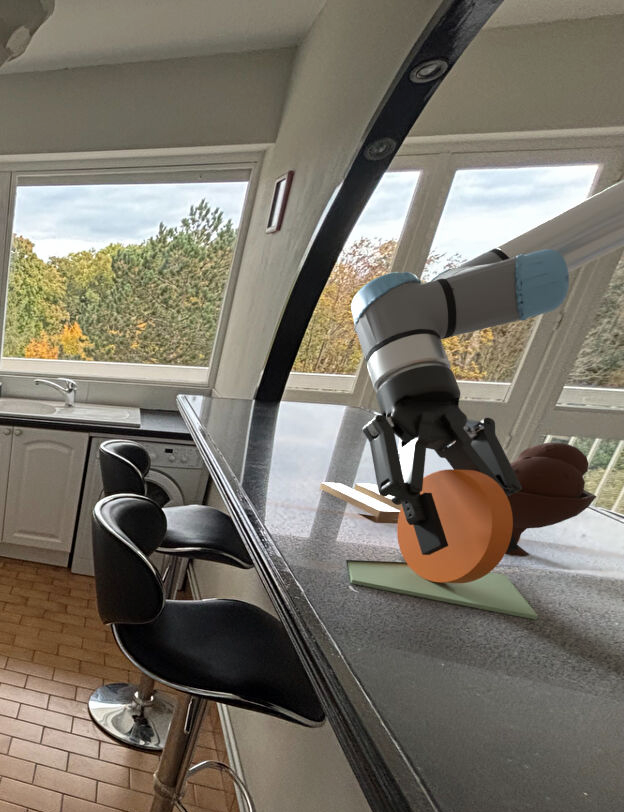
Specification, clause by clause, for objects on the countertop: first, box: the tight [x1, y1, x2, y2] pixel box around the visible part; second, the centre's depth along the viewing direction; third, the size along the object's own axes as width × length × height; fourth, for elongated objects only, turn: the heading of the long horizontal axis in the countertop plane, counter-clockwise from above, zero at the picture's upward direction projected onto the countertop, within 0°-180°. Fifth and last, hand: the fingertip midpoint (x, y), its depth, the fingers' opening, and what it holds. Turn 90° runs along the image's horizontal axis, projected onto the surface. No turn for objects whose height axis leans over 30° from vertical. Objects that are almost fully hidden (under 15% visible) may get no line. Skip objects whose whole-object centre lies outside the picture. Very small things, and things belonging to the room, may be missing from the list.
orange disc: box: [396, 468, 513, 583], centre depth 68 cm, size 2×13×13 cm, turn 175°
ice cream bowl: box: [506, 441, 598, 557], centre depth 75 cm, size 11×11×15 cm
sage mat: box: [345, 559, 539, 621], centre depth 70 cm, size 16×12×1 cm
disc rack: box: [319, 482, 402, 525], centre depth 93 cm, size 9×15×3 cm, turn 175°
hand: (469, 551), depth 65 cm, fingers open, 6 cm apart
